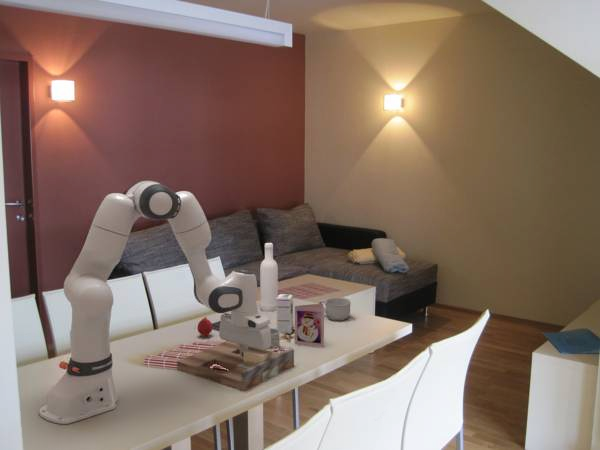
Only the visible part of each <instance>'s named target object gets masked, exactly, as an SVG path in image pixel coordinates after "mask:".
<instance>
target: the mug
mask: <svg viewBox="0 0 600 450" xmlns="http://www.w3.org/2000/svg"><path fill="white" fill-rule="evenodd" d="M269 328H270V327H269ZM270 330H271V346H270V347H269V348H268V349H277V348H279V349H280V333H279V330H278V329H277V328H270Z"/></svg>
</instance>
